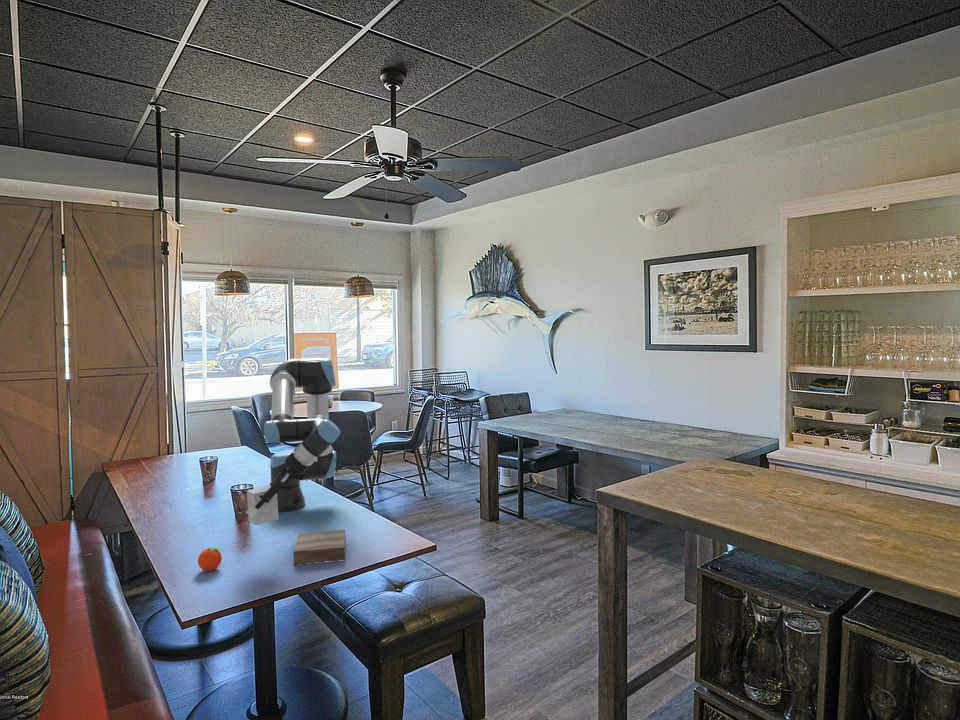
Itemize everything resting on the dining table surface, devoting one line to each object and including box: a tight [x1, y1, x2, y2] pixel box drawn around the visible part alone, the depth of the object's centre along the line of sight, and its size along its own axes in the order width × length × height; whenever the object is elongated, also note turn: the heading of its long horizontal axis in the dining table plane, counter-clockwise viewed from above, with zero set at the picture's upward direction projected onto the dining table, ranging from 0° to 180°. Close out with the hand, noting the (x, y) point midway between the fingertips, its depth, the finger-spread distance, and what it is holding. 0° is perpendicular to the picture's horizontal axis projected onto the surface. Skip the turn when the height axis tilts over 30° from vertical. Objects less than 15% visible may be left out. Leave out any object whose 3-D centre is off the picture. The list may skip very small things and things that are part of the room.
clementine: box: [197, 547, 226, 572], centre depth 181 cm, size 8×7×7 cm
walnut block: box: [293, 529, 346, 566], centre depth 194 cm, size 16×16×5 cm
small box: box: [246, 484, 279, 526], centre depth 189 cm, size 8×6×10 cm
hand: (252, 509), depth 188 cm, fingers closed on small box, 9 cm apart
